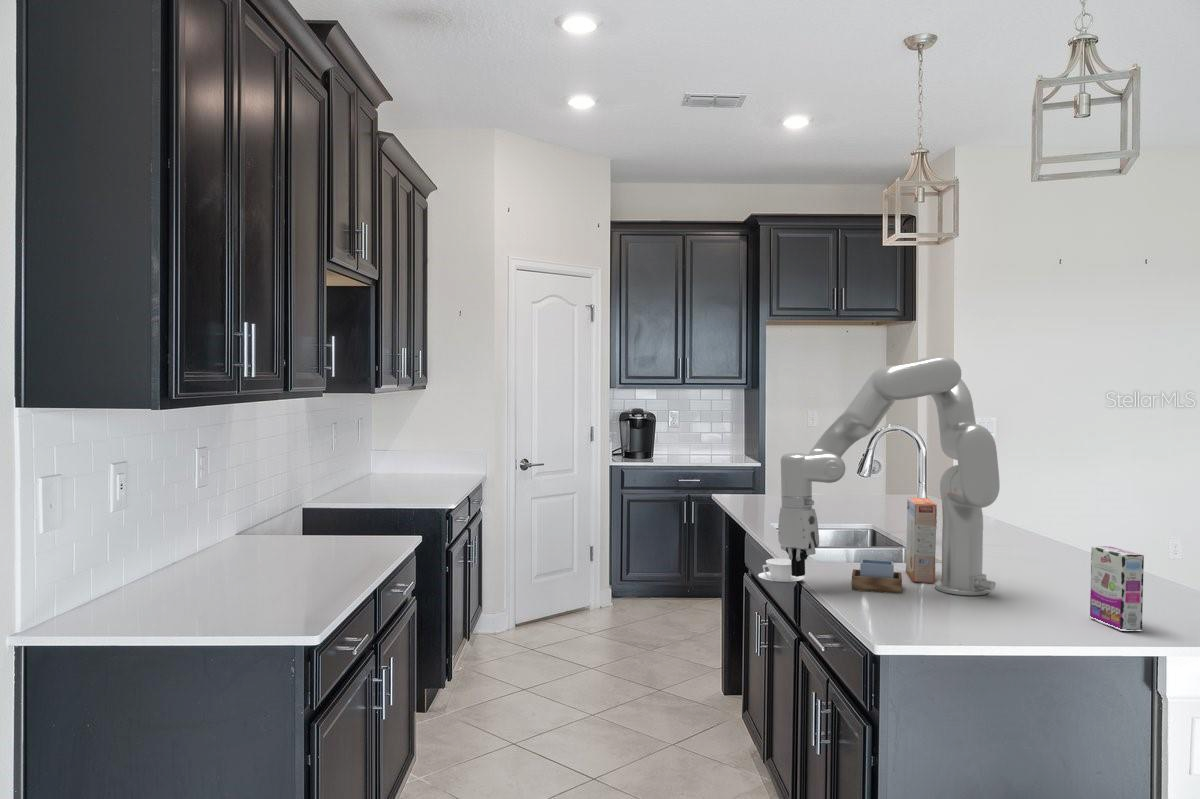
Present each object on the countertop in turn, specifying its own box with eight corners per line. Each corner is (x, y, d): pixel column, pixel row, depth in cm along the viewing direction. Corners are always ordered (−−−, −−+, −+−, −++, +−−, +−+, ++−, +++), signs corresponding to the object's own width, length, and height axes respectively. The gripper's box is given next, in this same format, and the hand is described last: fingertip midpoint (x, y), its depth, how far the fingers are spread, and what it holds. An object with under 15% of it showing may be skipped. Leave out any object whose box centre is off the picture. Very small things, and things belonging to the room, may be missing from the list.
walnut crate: (901, 585, 233) (901, 572, 233) (901, 593, 224) (901, 579, 224) (852, 582, 236) (852, 569, 236) (851, 590, 228) (851, 576, 228)
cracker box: (936, 584, 235) (937, 503, 235) (912, 582, 237) (913, 503, 236) (928, 572, 249) (929, 497, 249) (905, 571, 250) (906, 496, 250)
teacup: (748, 580, 239) (748, 560, 239) (780, 574, 246) (780, 555, 246) (781, 588, 229) (782, 568, 229) (814, 583, 236) (814, 562, 236)
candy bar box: (1144, 632, 191) (1145, 555, 191) (1121, 632, 191) (1123, 555, 190) (1109, 618, 202) (1111, 545, 202) (1088, 618, 202) (1089, 545, 201)
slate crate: (893, 584, 232) (893, 561, 232) (893, 589, 226) (893, 565, 226) (860, 582, 234) (861, 559, 234) (860, 586, 229) (860, 563, 229)
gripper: (830, 504, 223) (831, 578, 223) (785, 498, 235) (786, 568, 235) (809, 507, 218) (810, 582, 219) (764, 501, 231) (766, 572, 231)
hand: (798, 575), depth 227 cm, fingers closed
